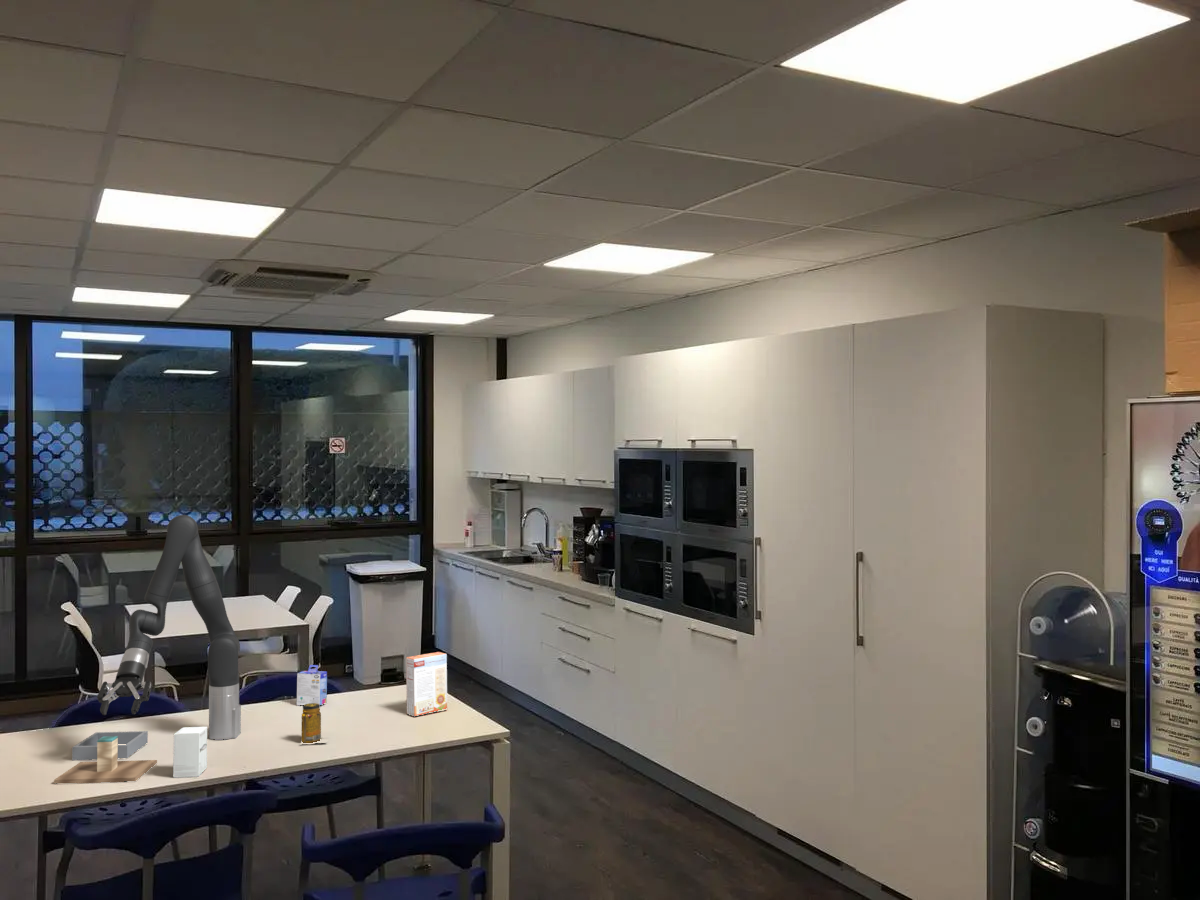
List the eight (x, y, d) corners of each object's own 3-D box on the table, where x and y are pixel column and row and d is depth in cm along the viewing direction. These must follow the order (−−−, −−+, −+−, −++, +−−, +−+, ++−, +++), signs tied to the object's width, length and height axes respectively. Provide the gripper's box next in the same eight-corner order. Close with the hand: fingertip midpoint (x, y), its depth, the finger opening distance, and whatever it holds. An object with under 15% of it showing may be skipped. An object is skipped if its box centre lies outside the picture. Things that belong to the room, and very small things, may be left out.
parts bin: (147, 743, 302) (147, 731, 302) (127, 758, 286) (127, 745, 286) (95, 744, 301) (95, 732, 301) (72, 760, 285) (72, 747, 285)
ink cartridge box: (327, 703, 353) (327, 664, 354) (320, 707, 348) (320, 667, 348) (303, 702, 355) (303, 663, 356) (296, 705, 350) (296, 666, 350)
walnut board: (157, 763, 281) (157, 759, 281) (135, 781, 265) (135, 777, 265) (80, 766, 279) (80, 762, 279) (53, 784, 263) (53, 779, 263)
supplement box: (199, 777, 269) (199, 733, 269) (172, 778, 268) (172, 733, 269) (207, 769, 276) (208, 726, 277) (181, 769, 276) (182, 726, 276)
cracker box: (438, 707, 347) (438, 651, 347) (447, 711, 342) (447, 653, 343) (405, 714, 337) (405, 656, 338) (414, 718, 333) (414, 658, 333)
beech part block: (117, 767, 275) (117, 736, 275) (111, 771, 271) (111, 740, 271) (103, 767, 274) (103, 736, 274) (97, 771, 270) (97, 740, 270)
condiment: (302, 739, 307) (302, 702, 307) (328, 738, 308) (328, 701, 308) (298, 745, 300) (298, 708, 300) (326, 744, 301) (326, 707, 301)
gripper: (105, 660, 287) (89, 707, 275) (153, 658, 288) (139, 705, 277) (112, 674, 292) (97, 721, 281) (160, 672, 294) (146, 718, 282)
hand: (118, 713), depth 279 cm, fingers open, 8 cm apart
